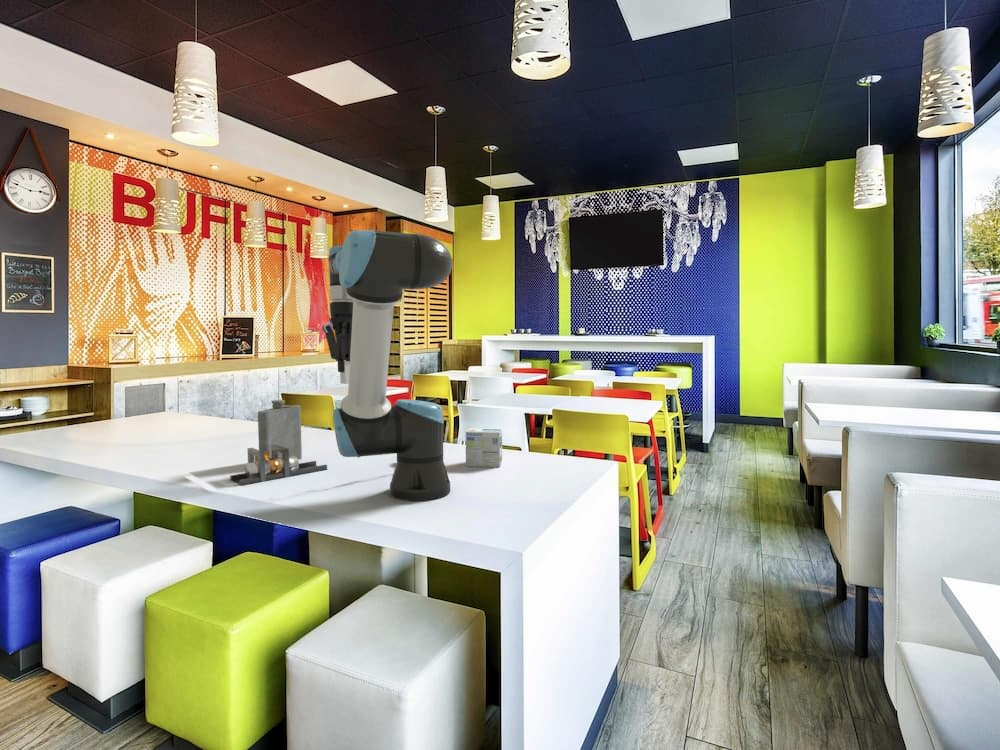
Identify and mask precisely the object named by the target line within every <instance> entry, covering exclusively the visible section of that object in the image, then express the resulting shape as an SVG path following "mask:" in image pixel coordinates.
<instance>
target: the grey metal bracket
mask: <svg viewBox="0 0 1000 750" xmlns="http://www.w3.org/2000/svg"><path fill="white" fill-rule="evenodd" d="M246 449H247V463H252V462H255V458H254V455H255V456H257V457H258V471H259V477H260V483H265V482H267V481H266V479H265V452H262V451H260V450H259V449H257V448H254V447H247V448H246ZM278 452H281V453H282V462H283V473H284V477H287V478H290V477H289V449H288V448H285V447H282V446H279V445H276V444H274V445H271V455H272V458H273V459H277V458H278ZM264 481H265V482H264Z"/></svg>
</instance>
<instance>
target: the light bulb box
mask: <svg viewBox="0 0 1000 750" xmlns="http://www.w3.org/2000/svg"><path fill="white" fill-rule="evenodd" d="M502 464H503V428H468V429H467V430H466V431H465V467H478V468H479V467H480V468H481V467H482V468H483V467H485V468H501V465H502Z"/></svg>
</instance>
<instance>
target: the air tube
mask: <svg viewBox="0 0 1000 750" xmlns="http://www.w3.org/2000/svg"><path fill="white" fill-rule="evenodd" d="M298 468H299V460H298V459H297V457H296V456H290V457H289V471H292V470H298ZM281 472H283V462H282V458H277V459H273V458H270V459H269V460H265V475H270V474H276V473H281ZM244 473H245V475H246V477H247V479H248V478H254V477H259V471H258V462H255V461H254V462H252V463H248V462H246V464H245V466H244Z"/></svg>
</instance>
